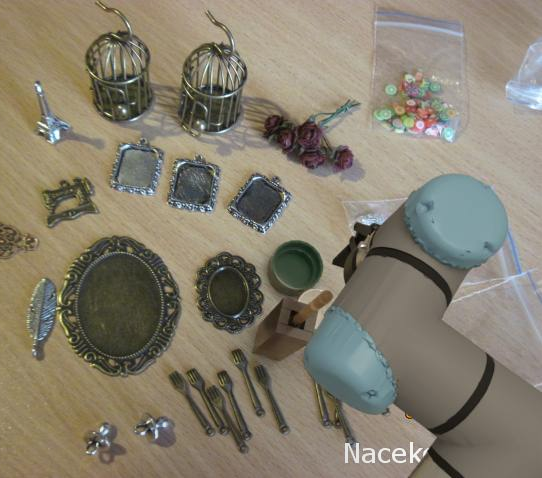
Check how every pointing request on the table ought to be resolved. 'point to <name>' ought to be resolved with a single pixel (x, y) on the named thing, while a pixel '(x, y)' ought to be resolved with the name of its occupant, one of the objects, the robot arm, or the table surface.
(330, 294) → the stick
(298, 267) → the bowl
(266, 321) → the stand
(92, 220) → the table surface
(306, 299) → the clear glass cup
